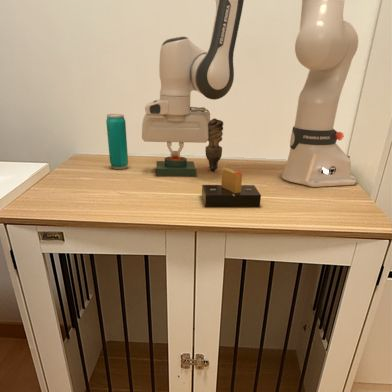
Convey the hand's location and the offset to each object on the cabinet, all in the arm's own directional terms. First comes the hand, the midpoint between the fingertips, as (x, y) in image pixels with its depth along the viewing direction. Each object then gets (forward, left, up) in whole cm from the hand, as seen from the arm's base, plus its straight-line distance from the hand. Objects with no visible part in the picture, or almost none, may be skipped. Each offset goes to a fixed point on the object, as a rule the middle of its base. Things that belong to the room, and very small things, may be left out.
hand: (175, 157), depth 128 cm
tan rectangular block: (-13, +30, -1) cm, 33 cm away
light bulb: (-12, -2, -4) cm, 13 cm away
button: (0, 0, -2) cm, 2 cm away
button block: (0, 0, -4) cm, 4 cm away
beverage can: (+18, -5, -4) cm, 19 cm away
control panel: (-13, +30, -4) cm, 33 cm away
